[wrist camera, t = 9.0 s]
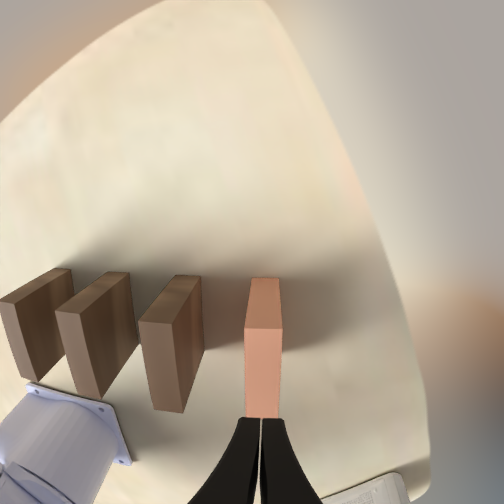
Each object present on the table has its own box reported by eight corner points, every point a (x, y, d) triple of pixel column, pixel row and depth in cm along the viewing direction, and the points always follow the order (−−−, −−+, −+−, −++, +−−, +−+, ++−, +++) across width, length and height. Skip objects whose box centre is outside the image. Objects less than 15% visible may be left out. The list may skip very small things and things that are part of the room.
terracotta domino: (252, 352, 19) (245, 418, 14) (251, 277, 18) (244, 328, 12) (276, 353, 19) (277, 419, 14) (278, 278, 18) (282, 328, 12)
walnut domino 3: (181, 348, 20) (153, 409, 14) (175, 274, 18) (137, 320, 13) (204, 350, 20) (182, 413, 14) (200, 275, 18) (171, 324, 13)
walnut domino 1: (66, 333, 20) (21, 377, 14) (54, 268, 19) (-3, 300, 13) (82, 336, 20) (38, 382, 14) (70, 269, 19) (13, 303, 13)
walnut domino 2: (118, 341, 20) (77, 393, 14) (107, 271, 19) (54, 310, 13) (138, 344, 20) (101, 399, 14) (128, 272, 19) (79, 314, 13)
